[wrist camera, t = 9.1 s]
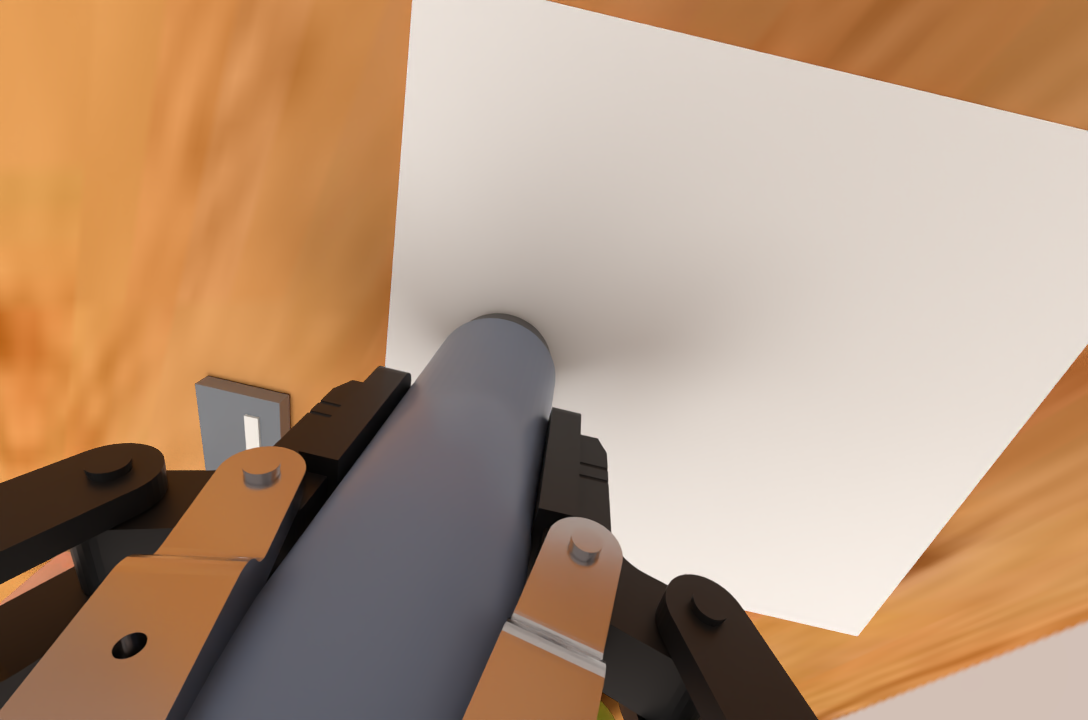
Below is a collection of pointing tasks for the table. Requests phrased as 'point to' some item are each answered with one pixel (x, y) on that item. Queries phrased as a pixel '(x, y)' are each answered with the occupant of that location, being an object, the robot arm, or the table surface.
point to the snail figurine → (604, 713)
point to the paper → (743, 283)
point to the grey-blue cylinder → (406, 551)
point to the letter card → (238, 418)
